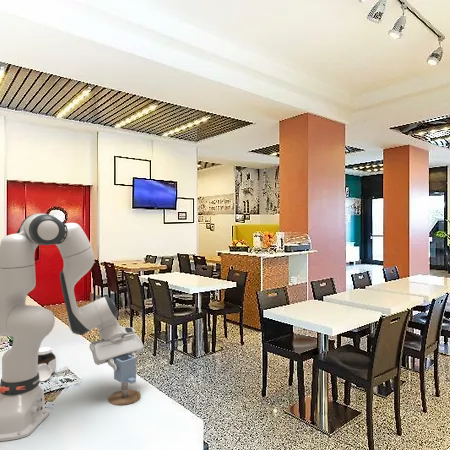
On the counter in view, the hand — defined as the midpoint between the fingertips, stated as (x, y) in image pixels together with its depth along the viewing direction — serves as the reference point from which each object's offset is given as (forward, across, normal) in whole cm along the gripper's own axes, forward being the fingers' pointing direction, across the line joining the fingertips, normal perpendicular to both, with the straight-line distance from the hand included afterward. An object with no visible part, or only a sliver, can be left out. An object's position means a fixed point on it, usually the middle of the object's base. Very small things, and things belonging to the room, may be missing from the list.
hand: (125, 367), depth 147 cm
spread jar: (-23, -14, +40) cm, 48 cm away
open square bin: (+4, 0, +3) cm, 5 cm away
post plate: (+8, 0, +9) cm, 12 cm away
